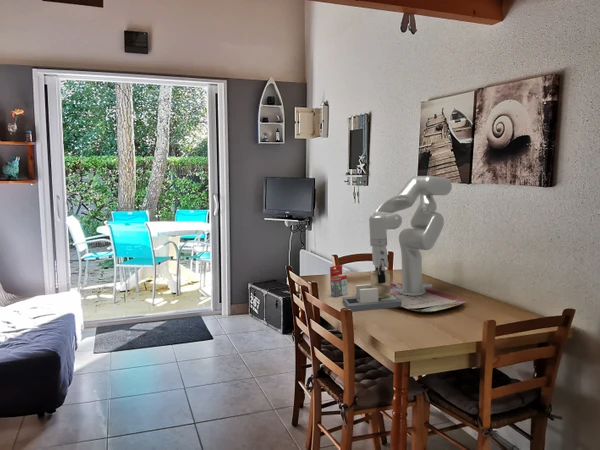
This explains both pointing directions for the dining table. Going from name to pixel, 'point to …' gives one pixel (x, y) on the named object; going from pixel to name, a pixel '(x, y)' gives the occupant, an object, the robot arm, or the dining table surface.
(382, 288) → the block
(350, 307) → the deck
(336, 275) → the ink box
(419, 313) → the dining table surface
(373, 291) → the pale grey u-shaped piece
